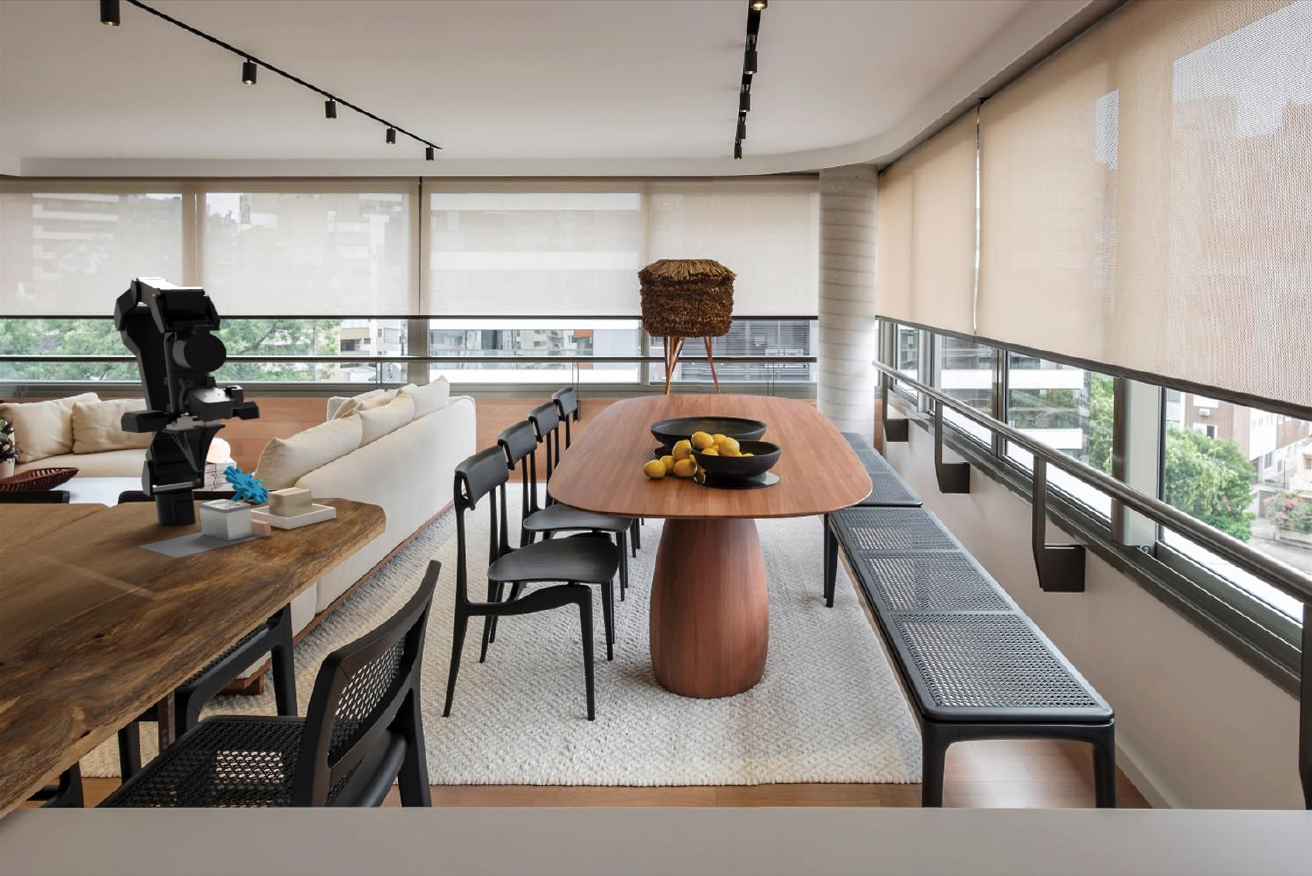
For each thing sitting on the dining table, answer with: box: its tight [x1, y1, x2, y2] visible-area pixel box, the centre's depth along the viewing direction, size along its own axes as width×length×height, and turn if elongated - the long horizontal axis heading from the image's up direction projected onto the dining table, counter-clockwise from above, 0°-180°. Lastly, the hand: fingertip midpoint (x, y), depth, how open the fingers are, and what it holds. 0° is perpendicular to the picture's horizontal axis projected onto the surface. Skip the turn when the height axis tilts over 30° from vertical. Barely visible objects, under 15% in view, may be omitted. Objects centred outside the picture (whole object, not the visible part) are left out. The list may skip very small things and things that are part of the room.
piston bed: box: [137, 519, 272, 559], centre depth 139 cm, size 12×15×3 cm
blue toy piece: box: [222, 465, 270, 505], centre depth 168 cm, size 11×6×10 cm
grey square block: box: [198, 498, 253, 541], centre depth 142 cm, size 8×4×5 cm, turn 55°
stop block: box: [267, 486, 313, 518], centre depth 152 cm, size 5×5×5 cm
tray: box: [251, 503, 337, 530], centre depth 152 cm, size 12×9×2 cm
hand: (199, 471), depth 138 cm, fingers closed
